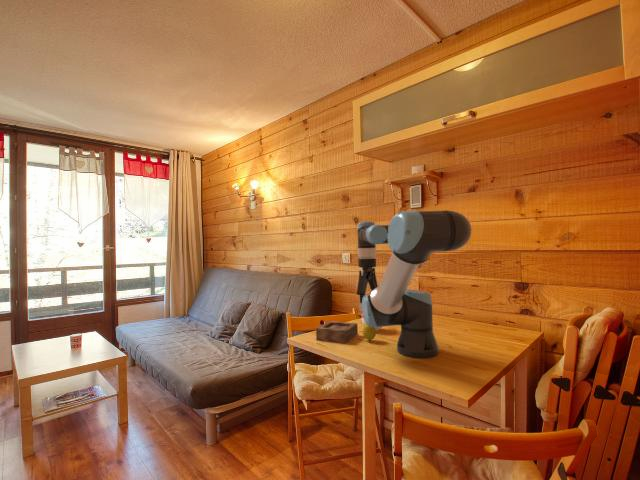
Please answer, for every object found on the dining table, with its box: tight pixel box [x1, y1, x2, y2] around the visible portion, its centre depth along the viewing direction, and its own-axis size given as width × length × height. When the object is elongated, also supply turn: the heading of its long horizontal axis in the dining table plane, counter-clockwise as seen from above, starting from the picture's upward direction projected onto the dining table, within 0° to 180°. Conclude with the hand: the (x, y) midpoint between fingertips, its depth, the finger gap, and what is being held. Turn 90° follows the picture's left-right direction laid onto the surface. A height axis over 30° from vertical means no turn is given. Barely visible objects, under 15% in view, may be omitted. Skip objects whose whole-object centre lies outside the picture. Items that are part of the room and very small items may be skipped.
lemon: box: [362, 324, 377, 342], centre depth 139 cm, size 6×6×8 cm
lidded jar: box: [360, 312, 383, 333], centre depth 156 cm, size 11×11×9 cm
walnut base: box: [315, 320, 359, 344], centre depth 146 cm, size 14×14×5 cm
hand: (368, 307), depth 140 cm, fingers open, 13 cm apart
